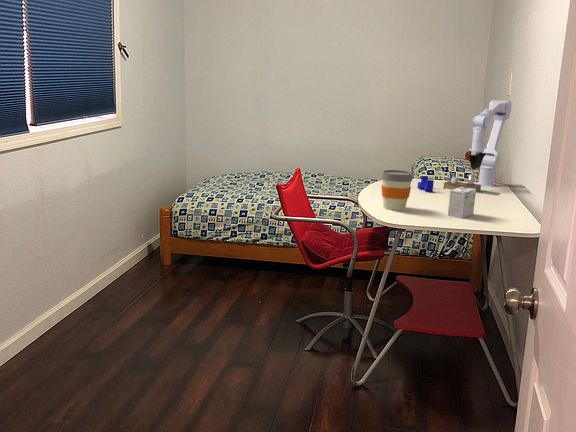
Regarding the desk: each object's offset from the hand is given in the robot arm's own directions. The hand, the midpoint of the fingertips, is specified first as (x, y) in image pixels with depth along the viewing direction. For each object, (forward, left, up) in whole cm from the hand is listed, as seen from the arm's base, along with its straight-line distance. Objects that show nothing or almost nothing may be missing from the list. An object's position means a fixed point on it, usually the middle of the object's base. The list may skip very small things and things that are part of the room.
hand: (475, 168), depth 320 cm
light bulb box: (+64, +12, -11) cm, 66 cm away
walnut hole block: (+6, -4, -10) cm, 13 cm away
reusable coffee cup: (+70, -14, -11) cm, 72 cm away
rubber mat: (+6, +10, -10) cm, 16 cm away
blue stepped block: (+20, -18, -11) cm, 29 cm away
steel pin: (+6, 0, -10) cm, 12 cm away
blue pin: (+6, -8, -10) cm, 14 cm away
